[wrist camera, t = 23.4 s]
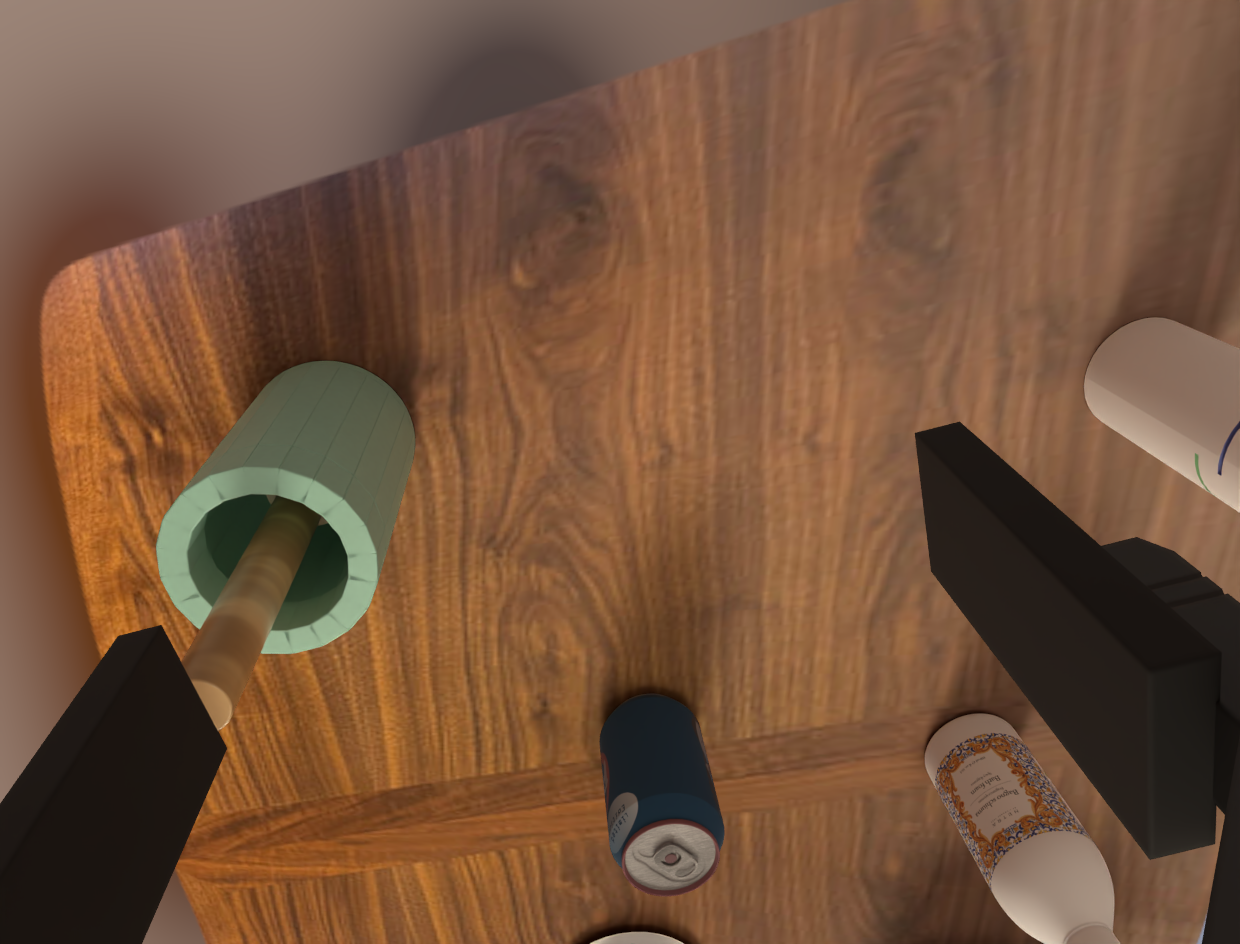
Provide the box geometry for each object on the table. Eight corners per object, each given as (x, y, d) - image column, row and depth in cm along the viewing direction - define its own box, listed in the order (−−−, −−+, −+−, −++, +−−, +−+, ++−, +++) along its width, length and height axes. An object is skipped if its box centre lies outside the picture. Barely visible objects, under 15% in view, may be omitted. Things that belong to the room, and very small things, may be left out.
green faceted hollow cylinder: (384, 342, 54) (332, 443, 40) (436, 487, 57) (406, 625, 44) (223, 383, 54) (117, 498, 40) (286, 526, 58) (210, 675, 44)
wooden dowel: (353, 400, 54) (231, 641, 32) (380, 469, 56) (281, 741, 34) (279, 419, 54) (106, 673, 32) (307, 487, 56) (163, 771, 34)
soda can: (577, 728, 66) (586, 864, 55) (651, 667, 64) (676, 795, 53) (645, 781, 68) (666, 921, 57) (717, 724, 66) (754, 857, 56)
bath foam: (987, 693, 67) (1155, 932, 49) (1031, 751, 70) (1206, 999, 52) (904, 744, 69) (1038, 996, 50) (950, 800, 71) (1093, 1058, 53)
